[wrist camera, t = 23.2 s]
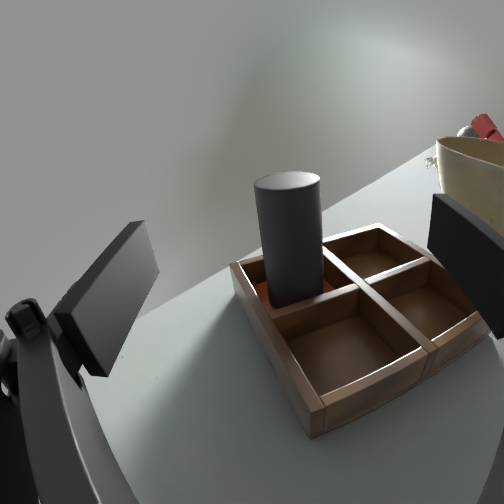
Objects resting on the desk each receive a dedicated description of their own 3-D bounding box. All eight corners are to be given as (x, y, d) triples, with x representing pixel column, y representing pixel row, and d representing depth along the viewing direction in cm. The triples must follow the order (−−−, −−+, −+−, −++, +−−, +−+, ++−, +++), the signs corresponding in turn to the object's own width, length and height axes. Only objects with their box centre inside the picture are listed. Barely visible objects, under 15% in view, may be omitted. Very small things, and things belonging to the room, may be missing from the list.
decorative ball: (449, 157, 69) (449, 122, 64) (475, 158, 68) (476, 124, 63) (467, 166, 60) (468, 127, 56) (495, 167, 59) (496, 130, 54)
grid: (309, 439, 15) (310, 413, 13) (234, 292, 29) (229, 263, 27) (490, 333, 18) (502, 302, 17) (378, 248, 32) (379, 222, 31)
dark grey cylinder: (280, 321, 23) (266, 194, 19) (261, 290, 27) (245, 179, 23) (333, 303, 24) (332, 181, 20) (308, 276, 28) (301, 168, 23)
